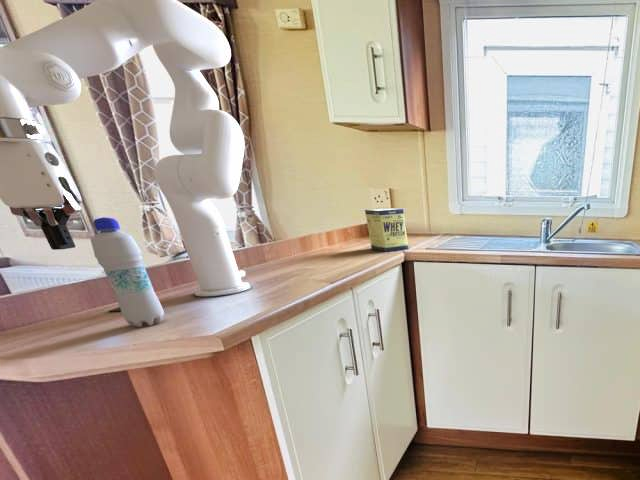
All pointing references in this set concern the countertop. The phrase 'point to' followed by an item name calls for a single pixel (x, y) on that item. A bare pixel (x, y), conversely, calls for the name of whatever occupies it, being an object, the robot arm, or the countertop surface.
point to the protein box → (387, 229)
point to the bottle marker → (115, 310)
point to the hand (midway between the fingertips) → (64, 248)
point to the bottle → (126, 273)
